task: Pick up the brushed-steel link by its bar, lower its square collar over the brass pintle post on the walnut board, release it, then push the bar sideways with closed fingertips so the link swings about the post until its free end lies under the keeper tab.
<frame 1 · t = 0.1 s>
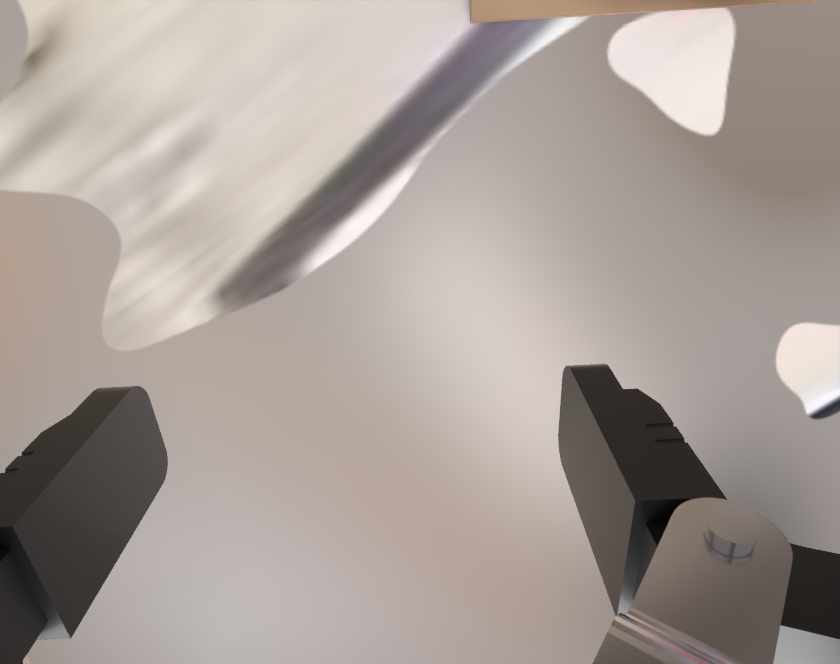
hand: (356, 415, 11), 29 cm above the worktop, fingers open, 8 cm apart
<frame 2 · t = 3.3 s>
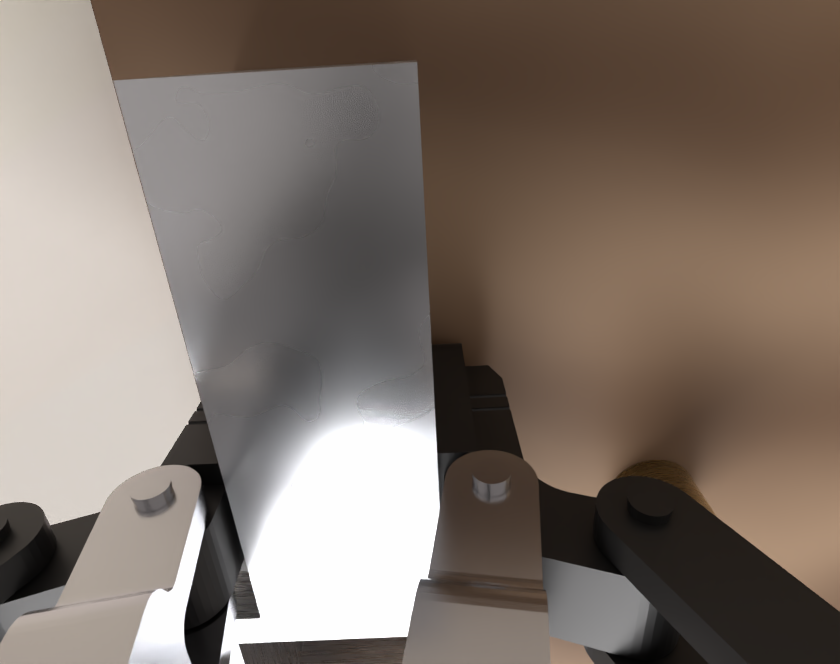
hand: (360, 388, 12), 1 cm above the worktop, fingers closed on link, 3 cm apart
board: (646, 358, 13), on the worktop
link: (324, 65, 9), point 1 cm above the worktop, touching board, gripper
pintle: (709, 605, 10), on the board, point 4 cm above the worktop
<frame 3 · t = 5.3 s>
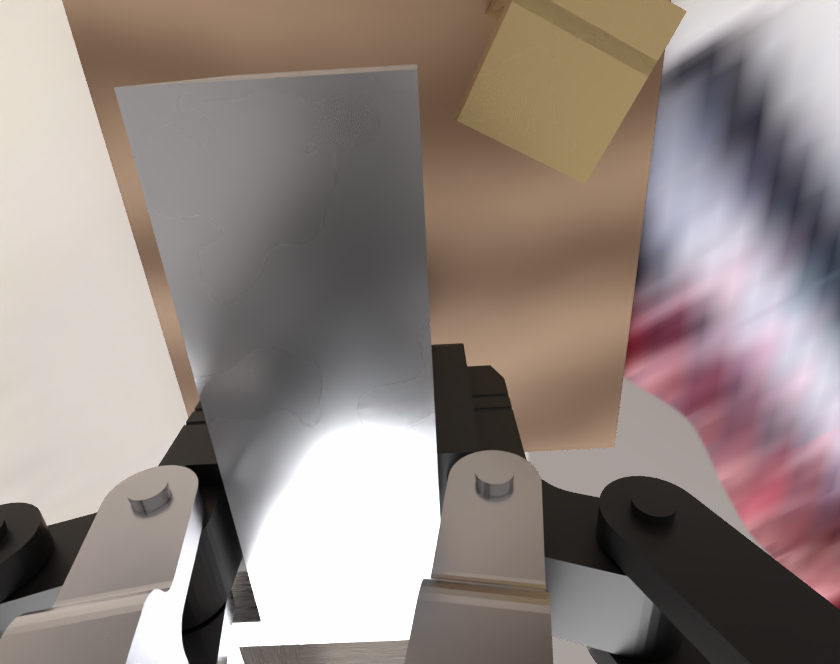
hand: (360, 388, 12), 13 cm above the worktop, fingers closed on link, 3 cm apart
keeper: (544, 65, 17), on the board, point 4 cm above the worktop
board: (391, 253, 23), on the worktop
link: (325, 69, 9), point 12 cm above the worktop, touching gripper
when the fingers open (2 cm above the worktop, at t = 7.3 s): link stays where it is, resting on board.
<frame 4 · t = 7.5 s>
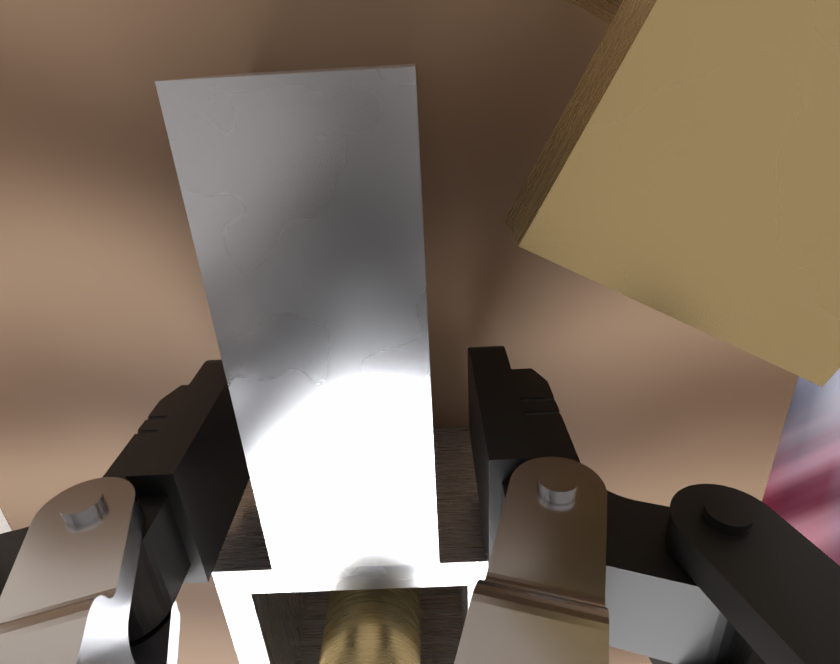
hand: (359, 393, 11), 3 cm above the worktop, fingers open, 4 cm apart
keeper: (695, 95, 8), on the board, point 4 cm above the worktop
board: (374, 389, 14), on the worktop
link: (332, 67, 10), point 1 cm above the worktop, touching board
pintle: (374, 612, 12), on the board, point 4 cm above the worktop
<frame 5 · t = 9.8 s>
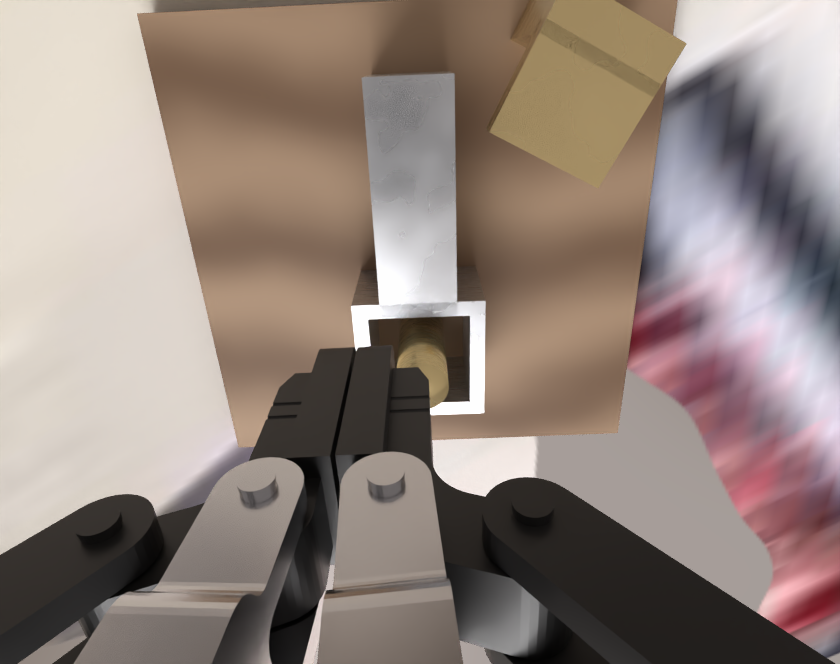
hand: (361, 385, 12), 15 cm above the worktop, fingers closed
keeper: (562, 85, 19), on the board, point 4 cm above the worktop
board: (418, 250, 26), on the worktop
link: (409, 72, 21), point 1 cm above the worktop, touching board
pintle: (421, 349, 23), on the board, point 4 cm above the worktop
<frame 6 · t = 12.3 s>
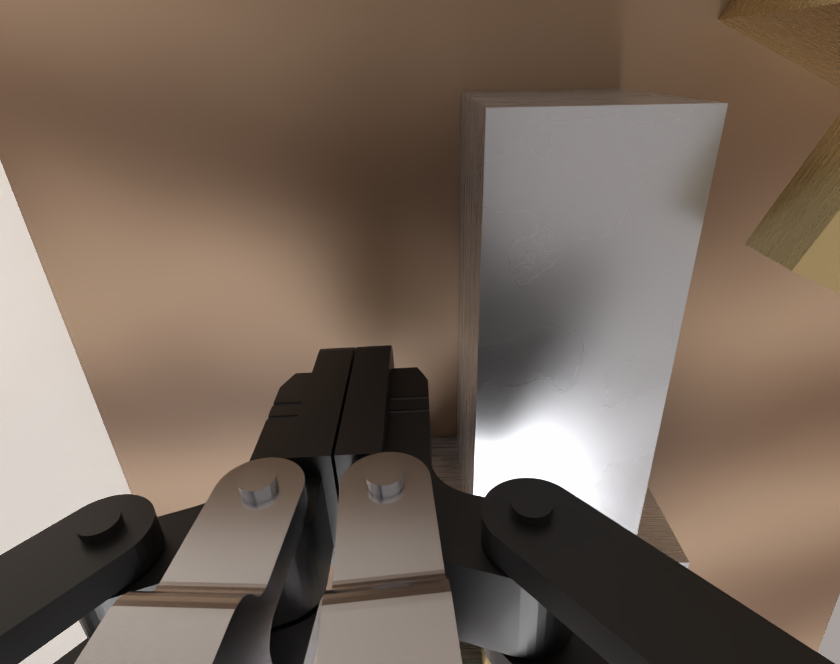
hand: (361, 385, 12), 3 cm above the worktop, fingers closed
board: (497, 396, 15), on the worktop
link: (541, 90, 10), point 1 cm above the worktop, touching board, gripper
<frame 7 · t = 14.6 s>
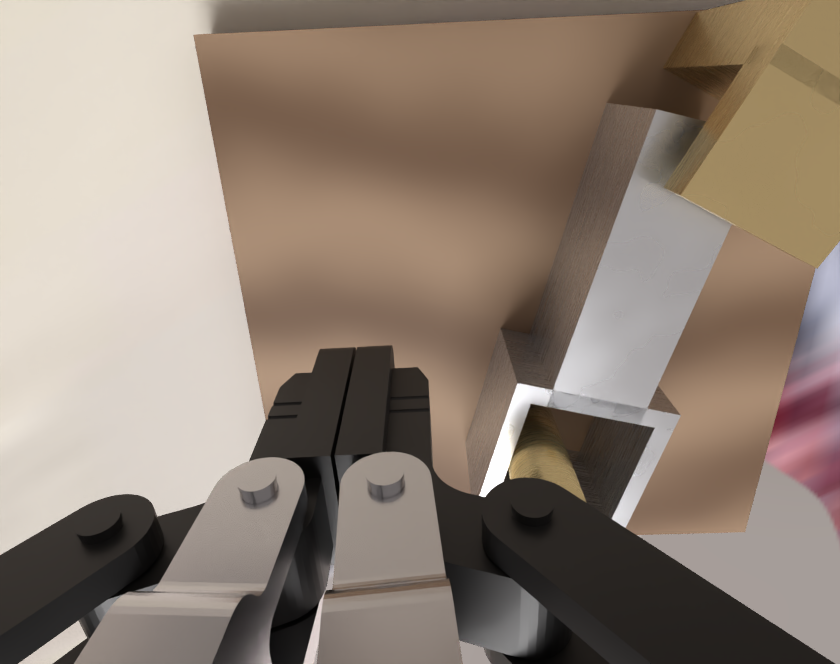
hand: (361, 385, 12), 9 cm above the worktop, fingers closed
keeper: (751, 128, 15), on the board, point 4 cm above the worktop
board: (517, 318, 21), on the worktop
link: (652, 114, 17), point 1 cm above the worktop, touching board, pintle
pintle: (534, 449, 19), on the board, point 4 cm above the worktop
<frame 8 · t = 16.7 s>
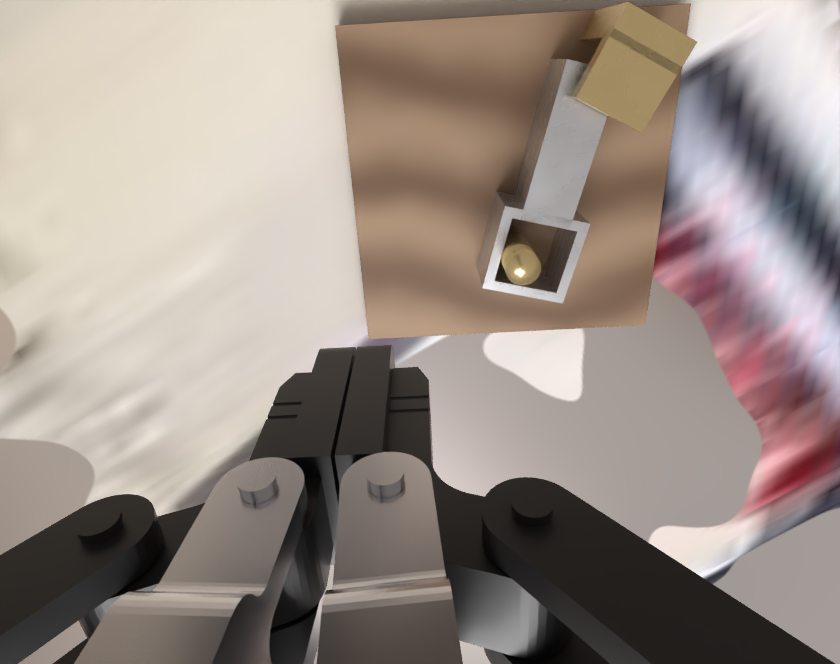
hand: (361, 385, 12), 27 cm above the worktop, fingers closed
keeper: (617, 69, 30), on the board, point 4 cm above the worktop
board: (506, 189, 37), on the worktop
link: (574, 64, 32), point 1 cm above the worktop, touching board, pintle
pintle: (515, 252, 34), on the board, point 4 cm above the worktop
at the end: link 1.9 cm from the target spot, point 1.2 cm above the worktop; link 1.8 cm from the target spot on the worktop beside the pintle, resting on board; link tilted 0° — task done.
